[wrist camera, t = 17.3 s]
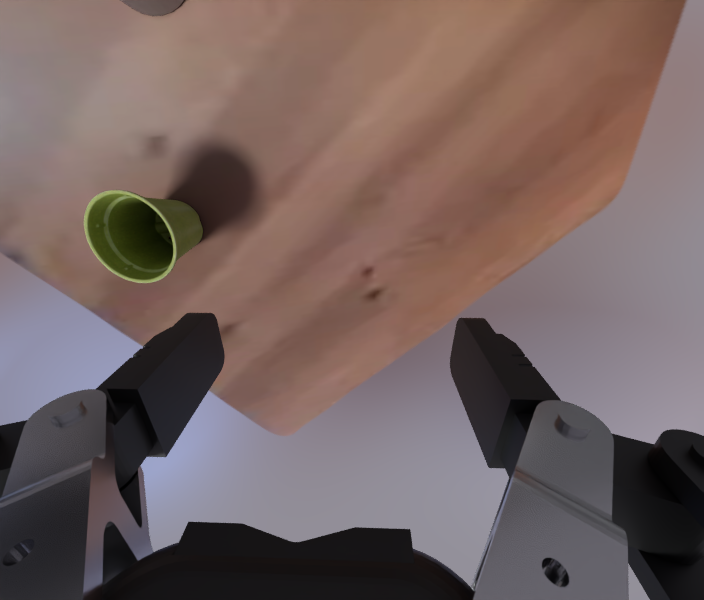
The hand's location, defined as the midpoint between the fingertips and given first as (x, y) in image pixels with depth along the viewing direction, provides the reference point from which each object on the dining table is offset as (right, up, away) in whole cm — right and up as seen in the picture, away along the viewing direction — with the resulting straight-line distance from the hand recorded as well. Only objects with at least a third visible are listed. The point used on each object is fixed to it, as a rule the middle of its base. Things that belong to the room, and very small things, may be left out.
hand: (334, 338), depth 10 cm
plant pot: (-21, +11, +28) cm, 37 cm away
